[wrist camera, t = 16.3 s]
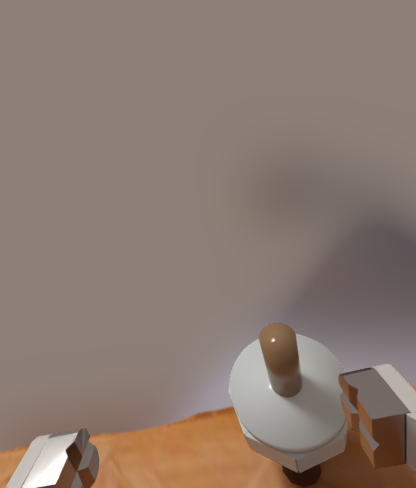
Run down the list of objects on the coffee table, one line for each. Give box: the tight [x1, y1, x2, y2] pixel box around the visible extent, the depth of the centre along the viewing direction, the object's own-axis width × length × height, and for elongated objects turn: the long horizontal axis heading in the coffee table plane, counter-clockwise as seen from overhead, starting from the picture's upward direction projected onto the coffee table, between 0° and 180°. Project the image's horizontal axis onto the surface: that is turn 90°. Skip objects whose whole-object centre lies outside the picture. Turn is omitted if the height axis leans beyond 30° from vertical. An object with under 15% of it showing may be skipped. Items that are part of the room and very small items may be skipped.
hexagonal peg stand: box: [228, 323, 349, 473], centre depth 35 cm, size 15×15×14 cm
